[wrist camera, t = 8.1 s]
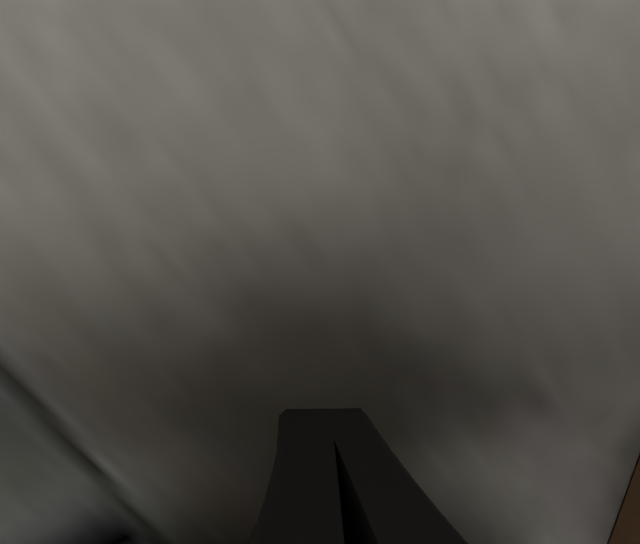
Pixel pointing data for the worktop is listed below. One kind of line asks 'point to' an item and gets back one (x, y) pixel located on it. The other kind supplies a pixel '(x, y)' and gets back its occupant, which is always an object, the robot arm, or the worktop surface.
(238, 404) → the worktop surface
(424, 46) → the worktop surface
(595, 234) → the worktop surface
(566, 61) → the worktop surface
